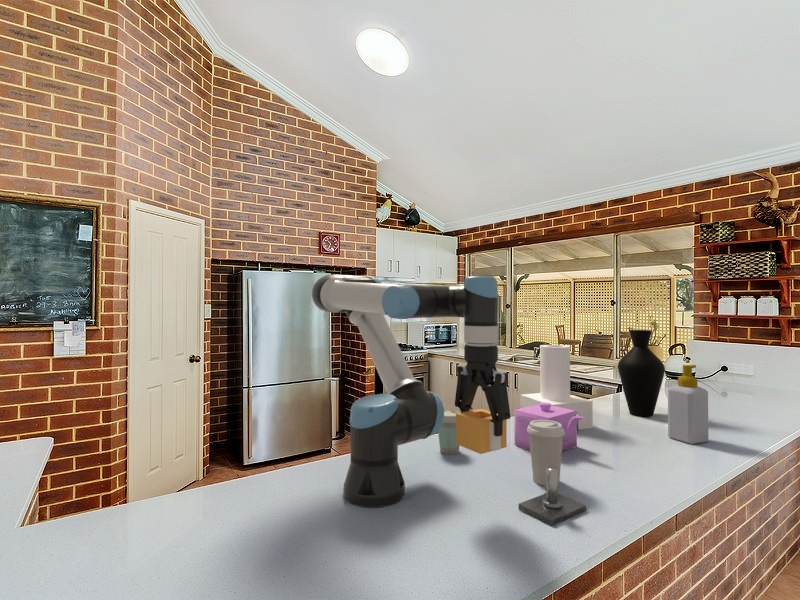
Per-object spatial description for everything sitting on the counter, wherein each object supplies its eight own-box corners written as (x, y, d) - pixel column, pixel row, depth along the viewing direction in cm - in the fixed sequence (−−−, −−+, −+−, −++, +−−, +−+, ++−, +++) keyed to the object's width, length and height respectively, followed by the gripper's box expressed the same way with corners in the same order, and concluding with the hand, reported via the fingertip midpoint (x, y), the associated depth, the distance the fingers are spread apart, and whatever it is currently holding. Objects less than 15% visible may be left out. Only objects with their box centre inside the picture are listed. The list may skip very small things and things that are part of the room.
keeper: (552, 525, 91) (551, 481, 91) (518, 509, 99) (518, 468, 99) (586, 510, 98) (585, 469, 98) (552, 495, 105) (552, 457, 105)
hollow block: (480, 454, 93) (480, 421, 93) (455, 443, 100) (455, 413, 100) (506, 447, 98) (506, 416, 98) (481, 437, 104) (481, 408, 104)
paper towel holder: (520, 419, 174) (520, 344, 174) (560, 415, 180) (559, 343, 180) (550, 432, 156) (549, 349, 156) (592, 428, 162) (592, 347, 162)
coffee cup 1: (462, 456, 132) (462, 417, 132) (434, 454, 134) (434, 415, 134) (463, 447, 141) (463, 410, 141) (437, 445, 142) (437, 409, 142)
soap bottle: (710, 442, 145) (709, 366, 145) (692, 445, 141) (691, 368, 142) (684, 434, 153) (683, 363, 153) (666, 437, 150) (665, 364, 150)
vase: (628, 407, 192) (627, 328, 192) (672, 415, 179) (671, 330, 179) (610, 414, 181) (610, 330, 181) (655, 422, 168) (654, 332, 168)
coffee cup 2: (540, 490, 108) (540, 430, 108) (520, 476, 117) (519, 420, 117) (573, 486, 111) (573, 427, 111) (551, 472, 120) (550, 417, 120)
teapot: (570, 463, 126) (569, 415, 126) (502, 441, 146) (502, 400, 147) (598, 452, 135) (597, 407, 135) (531, 433, 155) (530, 394, 156)
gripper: (528, 347, 92) (528, 454, 92) (462, 339, 109) (462, 430, 109) (503, 349, 88) (503, 462, 88) (439, 341, 105) (439, 435, 105)
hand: (480, 444), depth 99 cm, fingers closed on hollow block, 8 cm apart
